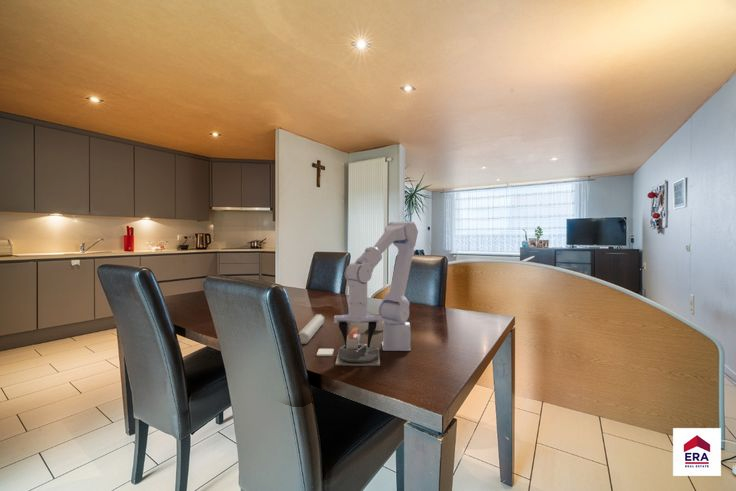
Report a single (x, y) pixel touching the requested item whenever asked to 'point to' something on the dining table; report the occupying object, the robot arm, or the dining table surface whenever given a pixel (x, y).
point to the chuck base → (371, 363)
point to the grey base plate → (358, 354)
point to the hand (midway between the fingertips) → (357, 345)
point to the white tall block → (353, 339)
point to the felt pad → (325, 352)
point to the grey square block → (378, 326)
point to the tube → (311, 328)
